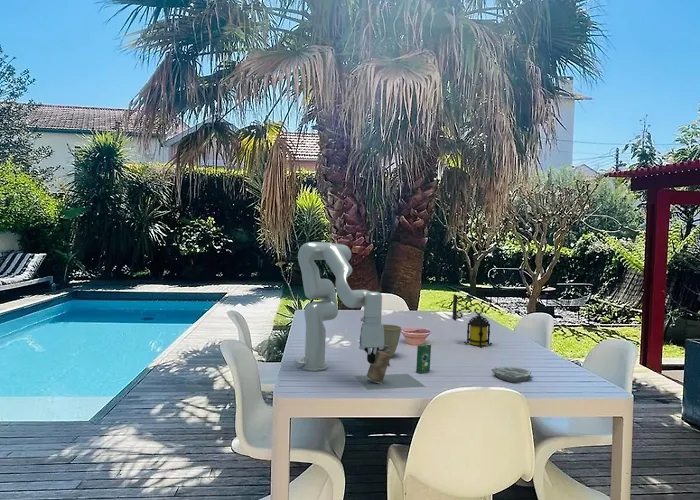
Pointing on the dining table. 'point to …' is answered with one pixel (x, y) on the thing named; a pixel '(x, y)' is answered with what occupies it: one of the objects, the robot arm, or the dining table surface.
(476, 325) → the wall lantern
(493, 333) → the dining table surface
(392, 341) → the plant pot
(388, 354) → the lighter
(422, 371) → the coffee box
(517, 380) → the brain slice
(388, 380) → the slate mat
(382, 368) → the tan rectangular block
